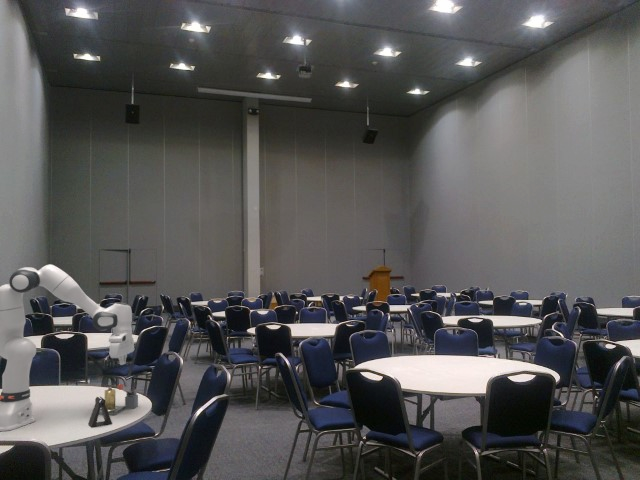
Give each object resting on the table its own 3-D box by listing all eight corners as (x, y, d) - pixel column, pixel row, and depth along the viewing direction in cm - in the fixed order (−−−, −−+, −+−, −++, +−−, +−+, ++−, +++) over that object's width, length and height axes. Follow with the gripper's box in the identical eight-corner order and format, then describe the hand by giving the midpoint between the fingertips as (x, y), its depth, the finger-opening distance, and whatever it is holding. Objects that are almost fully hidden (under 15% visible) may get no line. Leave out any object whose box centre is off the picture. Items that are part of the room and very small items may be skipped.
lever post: (134, 408, 280) (134, 391, 281) (125, 408, 281) (125, 390, 281) (137, 406, 285) (137, 388, 285) (128, 406, 285) (128, 388, 285)
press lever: (129, 396, 283) (130, 390, 285) (134, 396, 283) (135, 390, 284) (116, 389, 268) (117, 383, 270) (121, 389, 268) (122, 383, 269)
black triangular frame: (108, 421, 259) (108, 395, 260) (112, 424, 254) (112, 397, 255) (88, 424, 254) (88, 397, 254) (91, 427, 249) (91, 400, 249)
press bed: (114, 415, 269) (114, 412, 269) (94, 414, 270) (94, 412, 270) (125, 408, 281) (125, 405, 281) (105, 408, 282) (105, 405, 282)
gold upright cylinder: (112, 410, 273) (112, 388, 273) (102, 410, 273) (102, 388, 273) (117, 407, 278) (117, 386, 278) (107, 407, 278) (107, 386, 278)
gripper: (125, 333, 284) (125, 360, 283) (106, 338, 263) (107, 368, 263) (137, 333, 283) (137, 360, 283) (120, 338, 263) (120, 368, 262)
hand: (122, 364), depth 273 cm, fingers closed
